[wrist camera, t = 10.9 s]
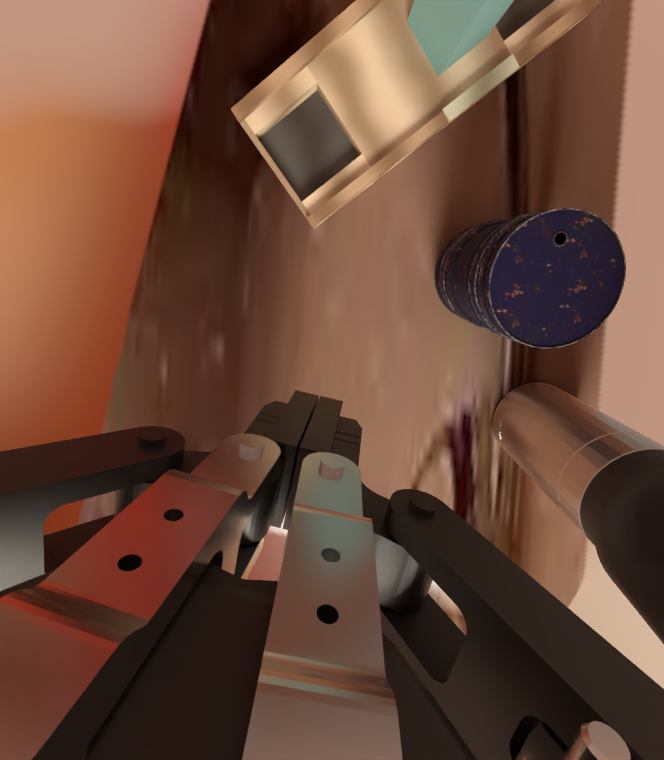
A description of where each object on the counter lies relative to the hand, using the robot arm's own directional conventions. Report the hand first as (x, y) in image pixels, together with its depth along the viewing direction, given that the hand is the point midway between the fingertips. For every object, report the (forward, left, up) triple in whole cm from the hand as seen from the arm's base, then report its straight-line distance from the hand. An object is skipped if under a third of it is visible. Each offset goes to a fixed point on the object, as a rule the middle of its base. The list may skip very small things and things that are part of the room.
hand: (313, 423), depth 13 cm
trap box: (-5, -22, -33) cm, 40 cm away
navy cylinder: (-16, -6, -33) cm, 37 cm away
